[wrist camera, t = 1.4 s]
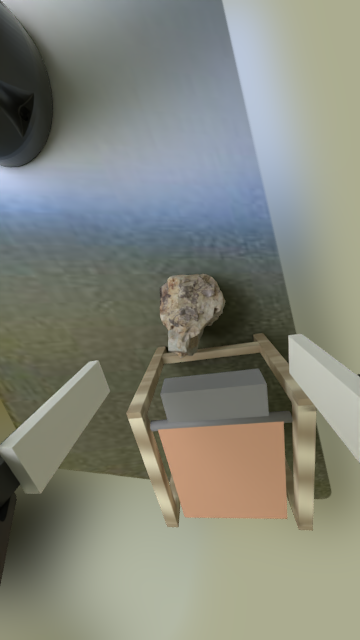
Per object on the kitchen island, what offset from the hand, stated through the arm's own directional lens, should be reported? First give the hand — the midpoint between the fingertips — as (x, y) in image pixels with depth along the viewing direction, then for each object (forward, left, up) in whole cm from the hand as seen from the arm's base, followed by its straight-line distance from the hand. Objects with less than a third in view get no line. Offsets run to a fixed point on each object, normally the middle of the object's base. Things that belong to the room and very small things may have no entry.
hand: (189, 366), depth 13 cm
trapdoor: (+15, +1, -6) cm, 16 cm away
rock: (0, 0, -18) cm, 18 cm away
